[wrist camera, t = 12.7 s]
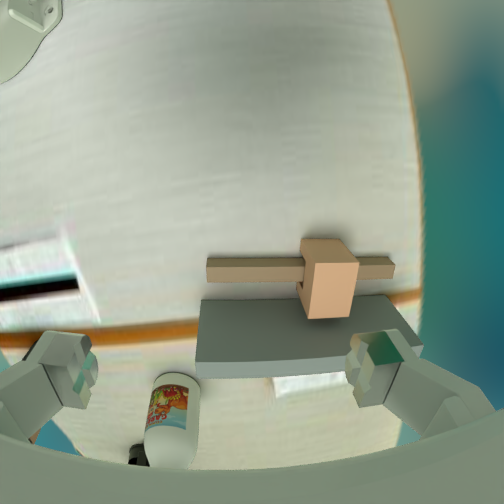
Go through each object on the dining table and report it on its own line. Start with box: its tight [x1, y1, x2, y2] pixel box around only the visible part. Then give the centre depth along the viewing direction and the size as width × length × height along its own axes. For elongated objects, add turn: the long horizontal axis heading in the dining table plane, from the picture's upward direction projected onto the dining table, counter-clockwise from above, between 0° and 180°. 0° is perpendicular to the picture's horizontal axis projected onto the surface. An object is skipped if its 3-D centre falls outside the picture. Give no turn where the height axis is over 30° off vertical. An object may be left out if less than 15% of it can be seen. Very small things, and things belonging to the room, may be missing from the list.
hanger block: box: [296, 239, 359, 319], centre depth 38 cm, size 7×5×7 cm
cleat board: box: [195, 257, 424, 379], centre depth 37 cm, size 8×26×12 cm, turn 88°
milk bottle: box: [144, 373, 200, 470], centre depth 39 cm, size 8×8×20 cm
